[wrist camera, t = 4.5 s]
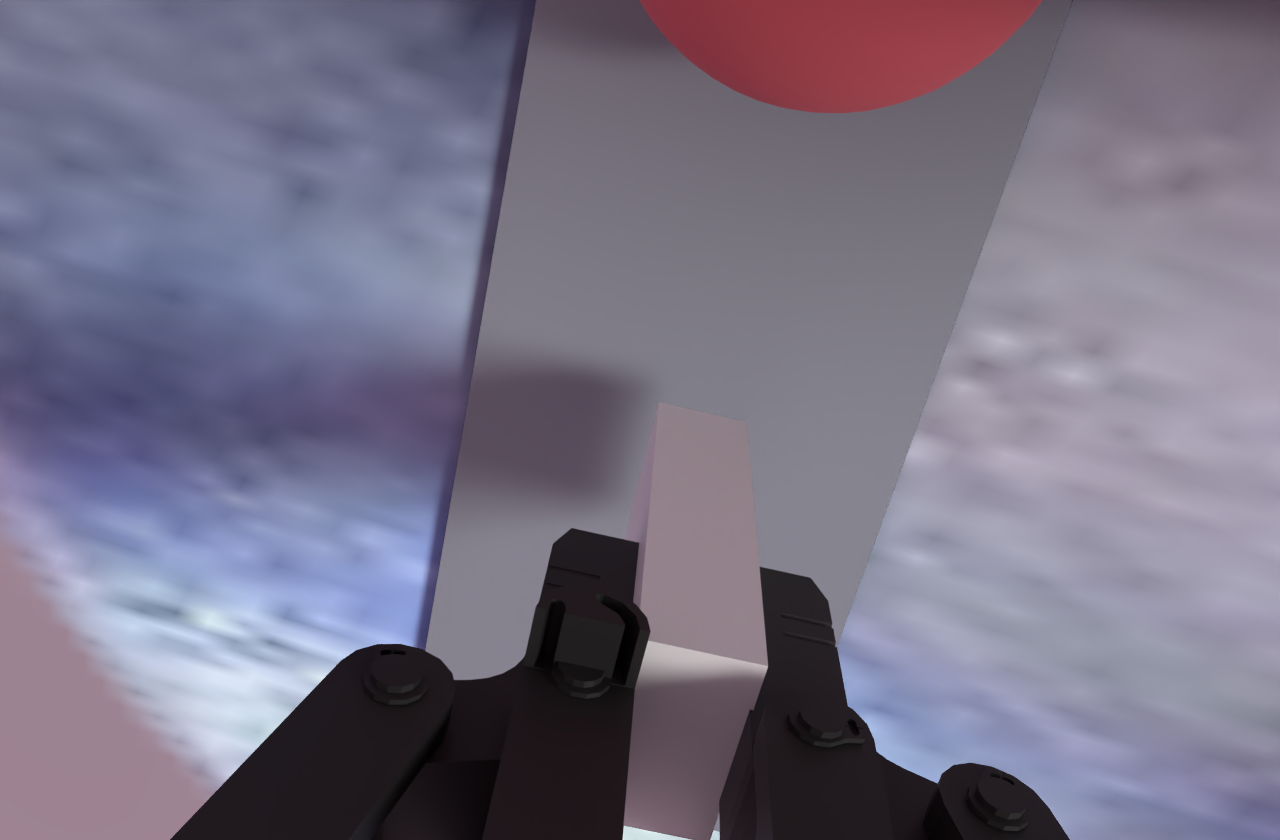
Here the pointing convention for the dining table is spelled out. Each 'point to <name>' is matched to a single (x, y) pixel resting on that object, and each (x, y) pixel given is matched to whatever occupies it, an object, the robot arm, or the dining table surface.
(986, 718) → the dining table surface
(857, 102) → the ball
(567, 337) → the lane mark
